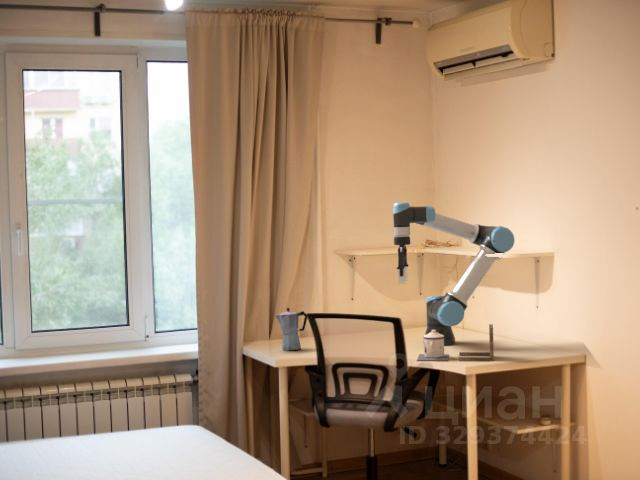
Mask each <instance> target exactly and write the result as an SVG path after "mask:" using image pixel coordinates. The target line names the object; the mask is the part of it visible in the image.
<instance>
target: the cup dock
mask: <svg viewBox="0 0 640 480" xmlns="http://www.w3.org/2000/svg"><path fill="white" fill-rule="evenodd" d="M488 329H489V331H488V332H489V333H488V334H489V339H488V340H489V351H483V352H481V351H479V352H478V351H473V352H472V351H471V352H470V351H468V352H467V351H459V355H458V356H459V357H458V362H494V361H495V360H494V359H495V358H494V355H495V354H494V352H495V351H494V348H495V347H494V325H493V324H492V323H491V324H488Z"/></svg>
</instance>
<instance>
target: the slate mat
mask: <svg viewBox="0 0 640 480" xmlns="http://www.w3.org/2000/svg"><path fill="white" fill-rule="evenodd" d="M448 360H449V353H448V354H447V353H444V357H440V358H428V357H425V353H420V354H418V356H417V359H416V361H417V362H448Z"/></svg>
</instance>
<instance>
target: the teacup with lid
mask: <svg viewBox="0 0 640 480" xmlns="http://www.w3.org/2000/svg"><path fill="white" fill-rule="evenodd" d="M423 344H424V345H423V347H424V351H423V352H424V354H425V357H428V358H440V357H444V354H445V345H444V335H442V334H439V333H438V332H436V330H432V331H431V332H430V333H428V334H427V335H425V334H423Z"/></svg>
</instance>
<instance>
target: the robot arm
mask: <svg viewBox="0 0 640 480" xmlns="http://www.w3.org/2000/svg"><path fill="white" fill-rule="evenodd" d="M392 208H393V209H392V214H393V215H392V216H393V229H392V230H391V231H392V232H393V236H394V238H393V244H394V246H399V247H398V248H397V257H398V260H397V262H398V263H397V264H398V265H397V267H396V270H398V285H399V284H402V285H403V284H405V285H406V282H408V267H409V264H408V258H407V257H408V248H407V246H408V245H411V237H410V236H411V224H417V225H421V226H424V227H427V228H430V229H433V230H437V231H439V232H443V233H446V234H449V235H452V236H455V237H459V238H462V239H464V240H468V241H469V243H471V244H473V245H475V246H476V245H477V246H479V251H478V252H477V254H476V255H475V256H474V258H473V259H472V261H471V262H470V264H469V265H468V267H467V268H466V270H465V271H464V273H463V274H462V275H461V277H460V278H459V280H458V282H457V283H456V284H455V286H453V288H452V290H451V291H448V292H446V293H445V294H444V295H433V296H431V295H430V296H427V297H426V303H425V306H426V330H425V334H424V335H427V334H428V333H430V332H431V331H432V330H436V332H438V333H439V334H442V335H444V346H449V345H450V346H451V345H455V344H456V337H455V334H454V331H453V328H452V327H455V326H457V325H459V324H460V323H461V322H462V321H463V320H464V319H465V318H464V317H465V311H466V309H467V308H468V301H469V299H470V298H471V296H472V295H473V294H474V292H475V291H476V289H477V288H478V286H479V285H480V283H481V282H482V280H483V279H484V278H485V276H486V274H487V273H488V272H489V270H490V269H491V267H492V266H493V264H494V263H495V261H499V260H501V259H502V257H501V258H499V257H487V256H485V255H486V254H495V253H504V254H505V253H506V252H509V251H510V250H511V249H513V247H514V246H515V234H514V233H513V232H512V230H510V228H507V227H505V226H501V225H499V226H495V225H494V226H493V225H491V226H490V225H481V224H478V223H475V224H472V223H469V222H465V221H461V220H458V219H456V218H453V217H449V216H446V215H443V214H441V213H440V214H439V213H437V212H436V210H435V208H434V206H427V205H426V206H424V205H423V206H410V203H409V202H396V203H394V204H393V206H392Z"/></svg>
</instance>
